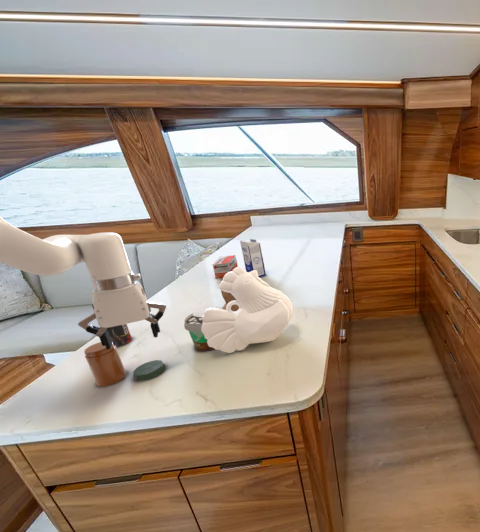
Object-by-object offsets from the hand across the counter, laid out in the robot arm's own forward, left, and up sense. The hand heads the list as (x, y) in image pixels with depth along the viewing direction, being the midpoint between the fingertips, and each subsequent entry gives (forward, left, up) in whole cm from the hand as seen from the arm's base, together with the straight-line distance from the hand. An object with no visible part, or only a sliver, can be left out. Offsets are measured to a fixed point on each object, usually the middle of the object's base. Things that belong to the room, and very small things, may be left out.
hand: (133, 340), depth 80 cm
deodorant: (-8, +26, -11) cm, 30 cm away
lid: (+1, 0, -9) cm, 9 cm away
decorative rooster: (+29, -1, -11) cm, 31 cm away
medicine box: (+30, +82, -11) cm, 88 cm away
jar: (-7, +3, -11) cm, 13 cm away
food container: (+15, +5, -11) cm, 19 cm away
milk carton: (+42, +66, -11) cm, 79 cm away
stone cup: (+28, +27, -11) cm, 40 cm away
